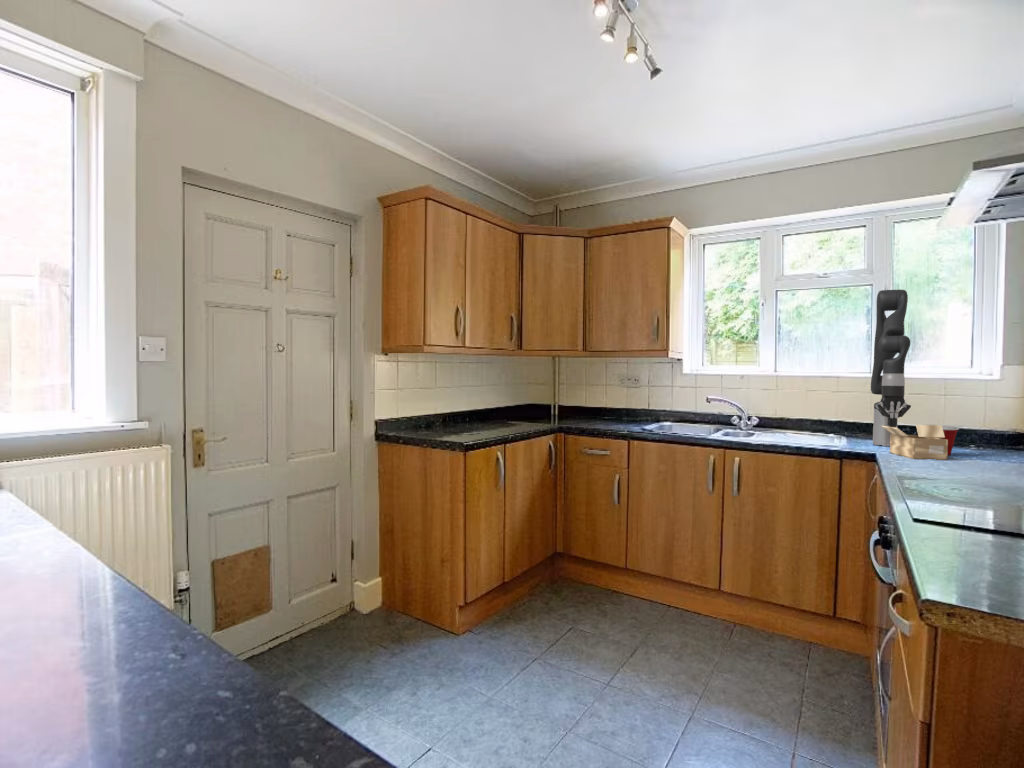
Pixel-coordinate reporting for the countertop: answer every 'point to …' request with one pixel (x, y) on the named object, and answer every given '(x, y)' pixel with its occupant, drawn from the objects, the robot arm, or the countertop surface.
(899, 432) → the long flap
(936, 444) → the carton
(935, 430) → the short flap
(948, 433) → the plastic cup
